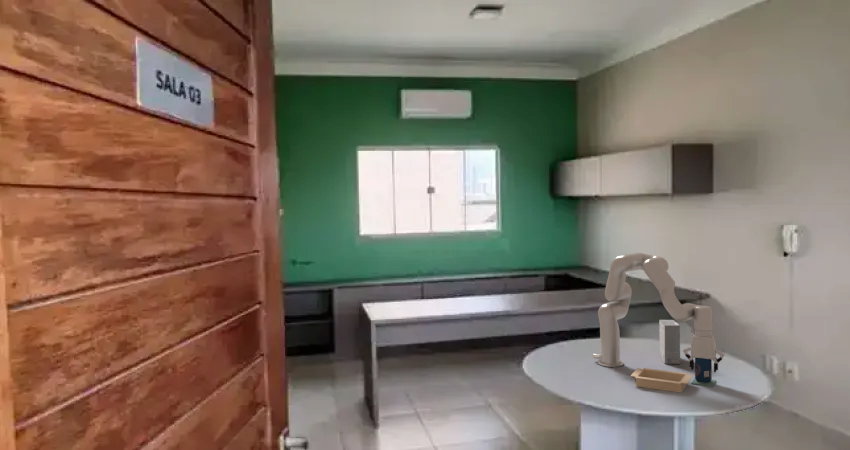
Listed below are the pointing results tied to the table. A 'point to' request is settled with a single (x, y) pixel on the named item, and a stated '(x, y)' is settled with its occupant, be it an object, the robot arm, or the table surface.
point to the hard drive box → (669, 341)
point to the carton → (661, 379)
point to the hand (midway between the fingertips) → (703, 370)
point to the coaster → (704, 383)
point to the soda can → (703, 370)
